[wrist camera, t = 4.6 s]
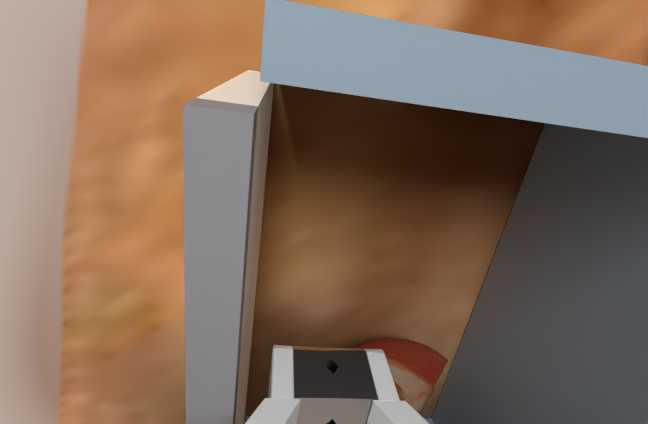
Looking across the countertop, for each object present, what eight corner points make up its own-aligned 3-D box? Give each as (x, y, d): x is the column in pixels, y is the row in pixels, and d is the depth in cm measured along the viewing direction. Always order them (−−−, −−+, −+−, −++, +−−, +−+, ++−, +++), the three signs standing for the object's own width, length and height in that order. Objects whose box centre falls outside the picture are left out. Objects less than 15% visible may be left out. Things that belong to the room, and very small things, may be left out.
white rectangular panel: (248, 69, 14) (182, 105, 5) (274, 74, 14) (254, 114, 5) (228, 413, 21) (187, 662, 13) (245, 413, 22) (216, 660, 13)
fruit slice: (395, 418, 23) (421, 506, 19) (296, 404, 22) (298, 495, 18) (451, 319, 20) (498, 395, 16) (340, 295, 19) (356, 372, 15)
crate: (279, 28, 14) (266, -3, 5) (588, 80, 15) (924, 115, 7) (243, 428, 22) (218, 646, 14) (443, 430, 24) (522, 624, 16)
